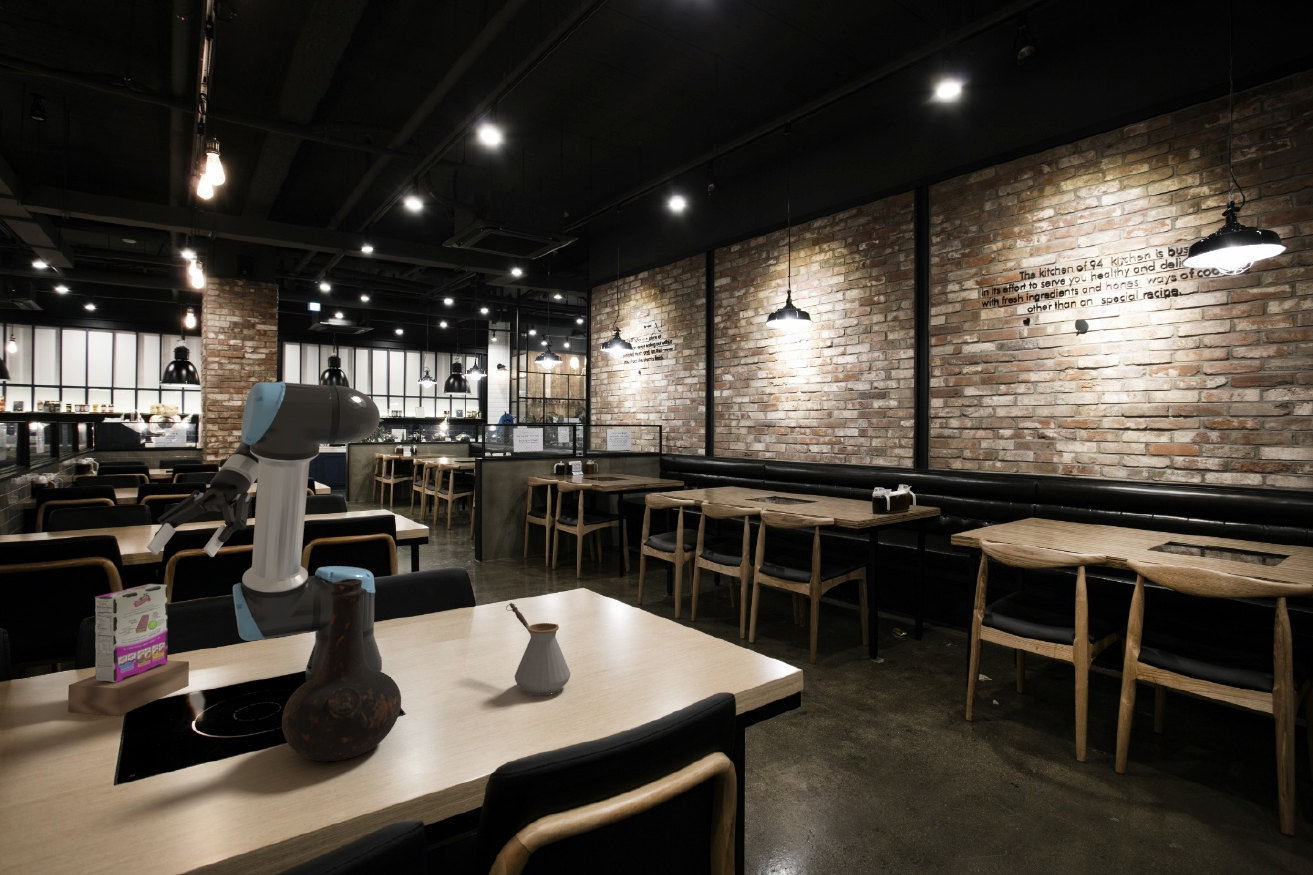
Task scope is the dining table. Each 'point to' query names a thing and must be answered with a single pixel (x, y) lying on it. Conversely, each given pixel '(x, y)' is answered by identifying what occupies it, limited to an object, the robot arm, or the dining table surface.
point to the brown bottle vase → (342, 691)
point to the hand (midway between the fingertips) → (179, 552)
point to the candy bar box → (130, 632)
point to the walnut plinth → (127, 690)
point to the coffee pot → (541, 660)
